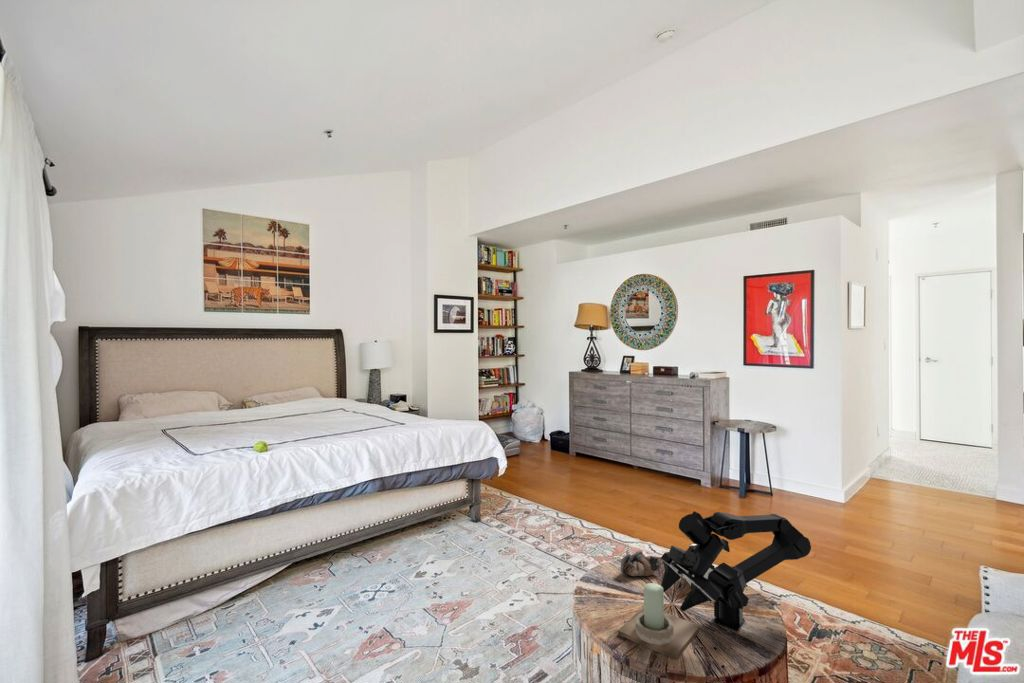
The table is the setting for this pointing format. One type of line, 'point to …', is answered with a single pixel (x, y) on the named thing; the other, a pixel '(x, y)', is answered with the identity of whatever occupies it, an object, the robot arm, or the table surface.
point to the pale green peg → (653, 606)
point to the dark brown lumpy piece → (639, 565)
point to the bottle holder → (661, 634)
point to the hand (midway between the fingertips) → (670, 600)
